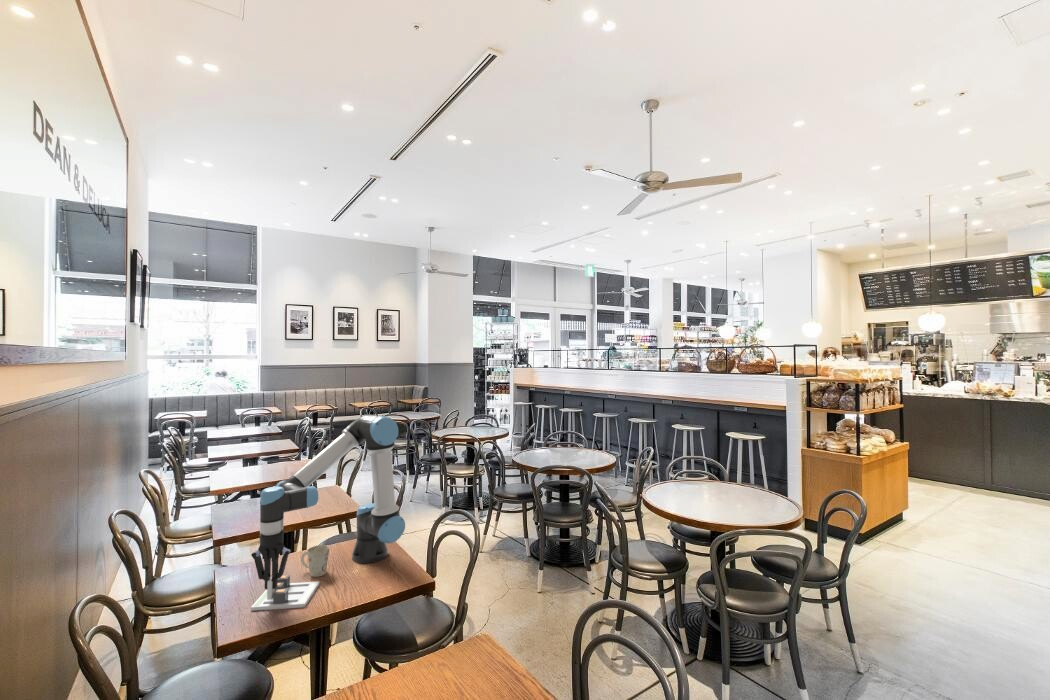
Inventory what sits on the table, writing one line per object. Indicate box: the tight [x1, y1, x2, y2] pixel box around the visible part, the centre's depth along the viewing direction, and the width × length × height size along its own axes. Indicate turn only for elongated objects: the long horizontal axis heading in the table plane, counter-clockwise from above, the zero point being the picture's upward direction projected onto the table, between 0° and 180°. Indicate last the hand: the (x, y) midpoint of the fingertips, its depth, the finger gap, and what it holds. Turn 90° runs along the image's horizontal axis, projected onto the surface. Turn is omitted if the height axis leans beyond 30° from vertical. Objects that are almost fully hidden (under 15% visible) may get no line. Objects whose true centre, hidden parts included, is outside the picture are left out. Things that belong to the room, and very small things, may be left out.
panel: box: [250, 575, 320, 612], centre depth 173 cm, size 18×17×5 cm
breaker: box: [273, 589, 288, 604], centre depth 167 cm, size 4×3×4 cm
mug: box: [300, 544, 330, 578], centre depth 193 cm, size 8×13×10 cm, turn 78°
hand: (270, 597), depth 167 cm, fingers closed
